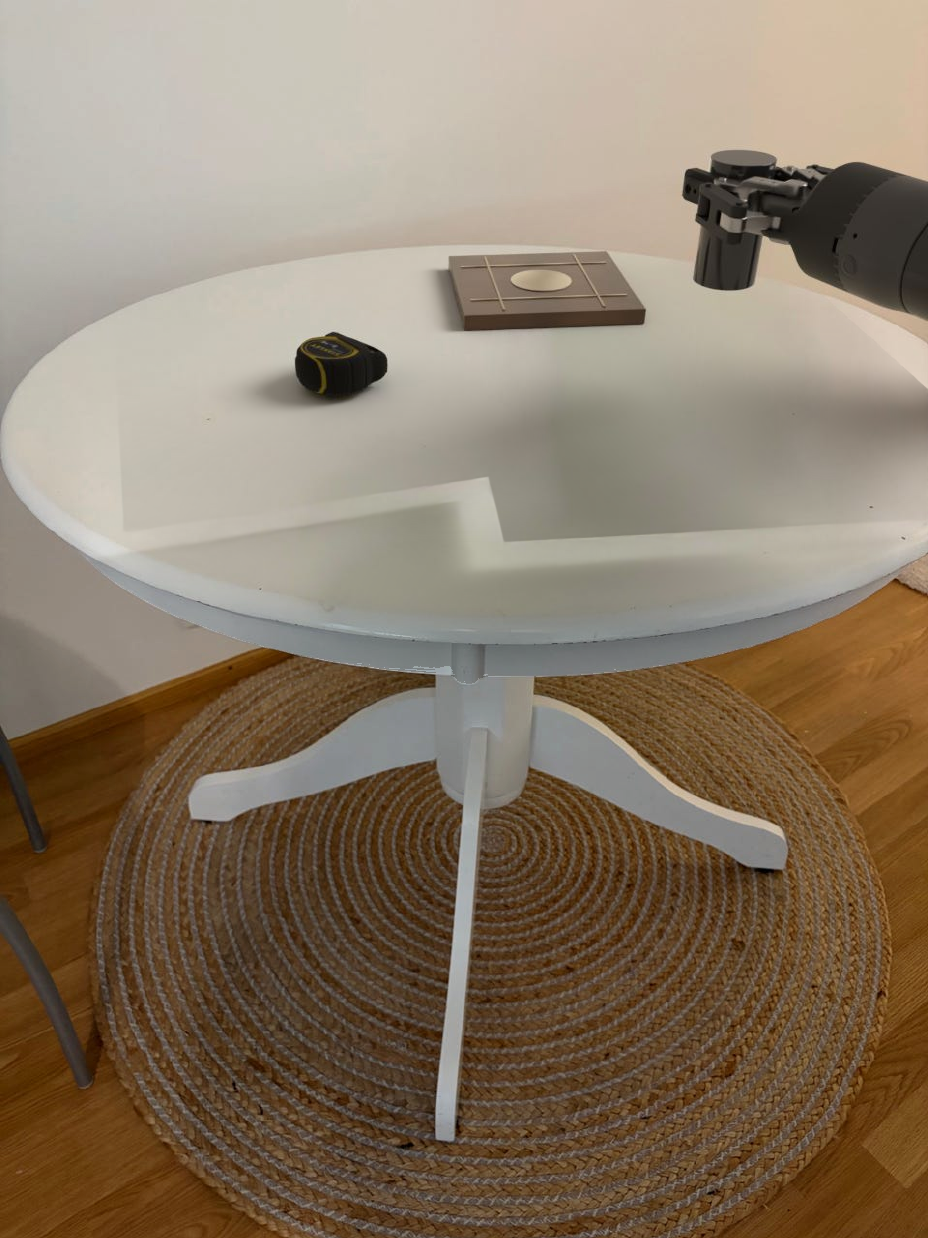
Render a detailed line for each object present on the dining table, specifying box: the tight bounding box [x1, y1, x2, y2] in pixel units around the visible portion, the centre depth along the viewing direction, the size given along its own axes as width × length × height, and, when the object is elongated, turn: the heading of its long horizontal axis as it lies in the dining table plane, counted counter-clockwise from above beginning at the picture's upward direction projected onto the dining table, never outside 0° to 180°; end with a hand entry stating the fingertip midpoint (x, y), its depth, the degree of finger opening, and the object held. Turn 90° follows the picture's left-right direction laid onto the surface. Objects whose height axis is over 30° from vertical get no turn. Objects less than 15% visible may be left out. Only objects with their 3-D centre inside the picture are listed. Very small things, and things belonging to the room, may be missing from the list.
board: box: [448, 250, 647, 331], centre depth 100 cm, size 18×18×2 cm
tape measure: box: [294, 331, 389, 397], centre depth 82 cm, size 7×7×4 cm
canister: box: [692, 149, 778, 292], centre depth 73 cm, size 5×5×9 cm
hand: (715, 177), depth 73 cm, fingers closed on canister, 4 cm apart
